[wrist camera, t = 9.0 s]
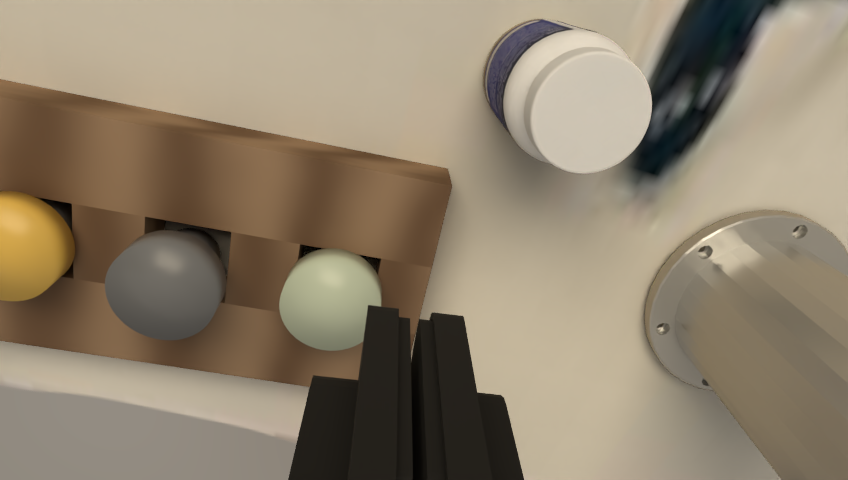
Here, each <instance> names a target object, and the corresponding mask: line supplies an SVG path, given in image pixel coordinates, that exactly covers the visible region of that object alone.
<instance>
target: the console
mask: <svg viewBox="0 0 848 480" xmlns="http://www.w3.org/2000/svg"><path fill="white" fill-rule="evenodd" d="M451 188H452V184H451V180H450V176H449V172H448V169H446V168H441V167H436V166H431V165H426V164H421V163H416V162H411V161H406V160H401V159H396V158H391V157H386V156H381V155H376V154H371V153H366V152H361V151H356V150H351V149H346V148H341V147H336V146H331V145H326V144H321V143H316V142H311V141H306V140H301V139H296V138H291V137H286V136H281V135H276V134H271V133H266V132H261V131H256V130H251V129H246V128H241V127H236V126H231V125H226V124H221V123H216V122H211V121H206V120H201V119H196V118H191V117H186V116H181V115H176V114H171V113H166V112H161V111H156V110H151V109H146V108H141V107H136V106H131V105H126V104H121V103H116V102H111V101H106V100H101V99H96V98H91V97H86V96H81V95H76V94H71V93H66V92H61V91H56V90H51V89H46V88H41V87H36V86H31V85H26V84H21V83H16V82H11V81H6V80H1V79H0V192H1V191H14V192H21V193H25V194H28V195H31V196H34V197H38V198H44V199H49V200H55V201H60V202H66V203H72V233H73V238H74V243H75V255H74V260H73V262H72V265H71V266H70V268H69V269H68V270H67V272H66V273H65V274H64V275H62V276H61V277H60V278H59V279H58V280H57V281H56V282H55V283H53V284H52V285H51V286H50V287H49V288H48V289H47V290H45V291H44V292H43V293H42V294H40V295H38V296H36V297H34V298H32V299H28V300H24V301H3V300H0V341H6V342H13V343H19V344H26V345H33V346H40V347H46V348H53V349H60V350H66V351H73V352H80V353H86V354H93V355H100V356H107V357H113V358H120V359H127V360H133V361H140V362H147V363H153V364H160V365H167V366H174V367H180V368H187V369H194V370H200V371H207V372H214V373H220V374H227V375H234V376H241V377H247V378H254V379H261V380H267V381H274V382H281V383H287V384H294V385H301V386H308V387H310V385H311V381H312V377H313V375H315V376H325V377H334V378H344V379H353V380H358V377H359V369H360V362H361V354H362V347H363V342H361V343H360V344H358V345H356V346H354V347H351V348H348V349H344V350H337V351H327V350H320V349H316V348H313V347H310V346H308V345H306V344H304V343H302V342H301V341H299V340H298V339H296V338H295V337H294V336H293V335H292V334H291V333H290V332H289V331H288V329H287V328H286V326H285V325H284V323H283V321H282V318H281V315H280V309H279V301H280V296H281V293H282V290H283V287H284V285H285V282H286V279H287V277H288V274H289V272H290V270H291V268H292V267H293V266H294V264H295V263H296V262H297V261H298V260H299V259H301V258H302V257H303V254H304V247H305V245H307V246H313V247H318V248H324V249H326V248H337V249H343V250H348V251H350V252H353V253H355V254H358V255H363V256H369V257H375V258H378V262H377V267H376V273H377V275H378V277H379V279H380V282H381V288H382V298H381V307H390V308H398V309H399V317H404V318H410V337H411V349H412V345H413V341H414V337H415V333H416V329H417V325H418V321H419V317H420V313H421V309H422V305H423V301H424V297H425V293H426V289H427V285H428V281H429V277H430V273H431V269H432V265H433V261H434V257H435V253H436V249H437V245H438V240H439V236H440V232H441V228H442V224H443V220H444V216H445V212H446V208H447V204H448V200H449V196H450V192H451ZM165 220H167V221H173V222H178V223H184V224H189V225H195V226H201V227H206V228H212V229H217V230H223V231H229V232H231V242H230V253H229V263H228V274H227V276H226V279H227V286H226V292H225V295H224V297H223V299H222V301H221V303H220V305H219V307H218V308H217V310H216V312H215V314H214V316H213V317H212V319H211V321H210V322H209V323H208V325H207V326H206V327H205V328H204V329H203V330H201V331H200V332H198V333H197V334H195V335H193V336H190V337H188V338H184V339H180V340H159V339H154V338H150V337H147V336H144V335H142V334H140V333H138V332H136V331H134V330H132V329H131V328H129V327H128V326H127V325H125V324H124V323H123V322H122V321H121V320H120V319H119V318H118V317H117V316H116V314H115V313H114V312H113V310H112V309H111V307H110V305H109V303H108V300H107V297H106V293H105V278H106V274H107V271H108V269H109V267H110V266H111V264H112V263H113V261H114V260H115V259H116V258H117V257H118V256H119V255H120V254H121V253H122V252H123V251H124V250H125V249H126V248H127V247H128V246H129V245H130V244H131V243H132V242H134V241H135V240H136V239H137V238H139V237H141V236H142V235H145V234H147V233H150V232H154V231H160V230H165Z"/></svg>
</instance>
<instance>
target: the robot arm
mask: <svg viewBox="0 0 848 480" xmlns="http://www.w3.org/2000/svg"><path fill="white" fill-rule="evenodd" d="M644 321H645V328H646V335H647V338H648V340H649V343H650V345H651V348H652V350H653V351H654V353H655V354H656V356H657V357H658V359H659V360H660V362H661V363H662V364H663V365H664V366H665V368H666V369H667V370H668V371H669V372H670V373H671V374H672V375H674V376H675V377H677V378H678V379H680V380H681V381H683V382H685V383H687V384H690V385H692V386H695V387H697V388H701V389H706V390H711V391H714V392H715V393H716V394H717V396H718V397H719V398H720V400H721V401H722V402H723V404H724V405H725V406H726V408H727V409H728V410H729V411H730V413H731V414H732V415H733V417H734V418H735V419H736V421H737V422H738V423H739V425H740V426H741V427H742V428H743V430H744V431H745V432H746V434H747V435H748V436H749V438H750V439H751V440H752V442H753V443H754V444H755V446H756V447H757V448H758V449H759V451H760V452H761V453H762V455H763V456H764V457H765V459H766V460H767V461H768V463H769V464H770V465H771V467H772V468H773V469H774V470H775V472H776V473H777V474H778V476H779V477H780V478H781V480H848V253H847V251H846V249H845V247H844V245H843V244H842V243H841V242H840V241H839V240H838V238H837V237H836V236H835V235H834V234H833V233H832V232H830V231H829V230H827V229H826V228H824V227H823V226H821V225H819V224H818V223H816V222H814V221H812V220H810V219H808V218H806V217H804V216H802V215H798V214H794V213H790V212H786V211H774V210H761V211H754V212H746V213H742V214H738V215H735V216H732V217H729V218H725V219H723V220H721V221H719V222H716V223H714V224H712V225H710V226H708V227H706V228H704V229H703V230H701V231H700V232H698V233H697V234H695V235H694V236H693V237H691V238H690V239H688V240H687V241H686V242H685V243H684V244H682V245H681V246H680V247H679V248H678V249H677V250H676V251H675V252H674V253H673V254H672V255H671V256H670V258H669V259H668V260H667V261H666V263H665V264H664V265H663V267H662V268H661V269H660V271H659V273H658V274H657V276H656V278H655V280H654V282H653V284H652V286H651V288H650V292H649V295H648V298H647V302H646V308H645V319H644ZM288 480H524V477H523V473H522V469H521V465H520V461H519V457H518V452H517V448H516V444H515V440H514V436H513V432H512V428H511V423H510V419H509V415H508V411H507V407H506V403H505V400H504V398H503V397H502V396H501V395H494V394H485V393H477V389H476V384H475V378H474V372H473V367H472V361H471V355H470V350H469V344H468V338H467V333H466V327H465V321H464V317H463V316H457V315H449V314H441V313H432V314H431V317H430V320H422V319H419V322H418V326H417V331H416V337H415V343H414V349H413V354H412V360H411V337H410V318H404V317H399V309H398V308H390V307H381V306H373V305H368V309H367V317H366V324H365V332H364V339H363V347H362V354H361V362H360V369H359V377H358V380H353V379H344V378H334V377H325V376H315V375H313V377H312V381H311V385H310V389H309V393H308V397H307V402H306V406H305V410H304V415H303V419H302V423H301V427H300V432H299V436H298V440H297V445H296V449H295V453H294V458H293V462H292V466H291V471H290V475H289V479H288Z"/></svg>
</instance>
